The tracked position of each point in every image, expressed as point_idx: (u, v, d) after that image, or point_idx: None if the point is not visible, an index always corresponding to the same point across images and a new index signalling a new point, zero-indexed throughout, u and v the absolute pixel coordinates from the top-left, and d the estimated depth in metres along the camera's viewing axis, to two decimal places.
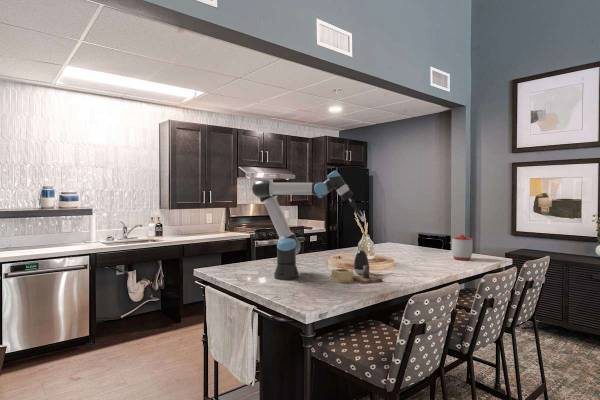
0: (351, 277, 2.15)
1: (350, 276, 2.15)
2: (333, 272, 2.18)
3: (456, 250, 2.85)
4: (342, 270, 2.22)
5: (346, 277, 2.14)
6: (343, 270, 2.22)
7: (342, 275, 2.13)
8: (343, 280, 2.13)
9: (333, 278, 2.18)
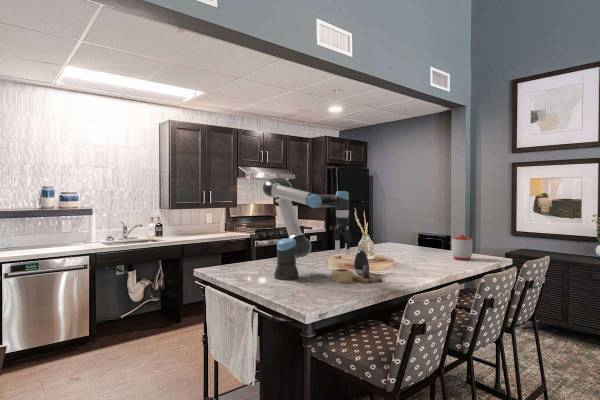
0: (351, 277, 2.15)
1: (350, 276, 2.15)
2: (333, 272, 2.18)
3: (456, 250, 2.85)
4: (342, 270, 2.22)
5: (346, 277, 2.14)
6: (343, 270, 2.22)
7: (342, 275, 2.13)
8: (343, 280, 2.13)
9: (333, 278, 2.18)
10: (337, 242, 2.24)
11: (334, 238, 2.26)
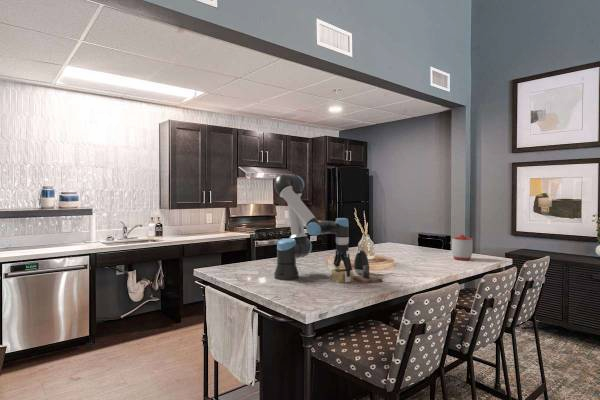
0: (351, 277, 2.15)
1: (350, 276, 2.15)
2: (333, 272, 2.18)
3: (456, 250, 2.85)
4: (342, 270, 2.22)
5: None
6: (343, 270, 2.22)
7: (342, 275, 2.13)
8: (343, 280, 2.13)
9: (333, 278, 2.18)
10: (337, 268, 2.24)
11: (334, 264, 2.26)
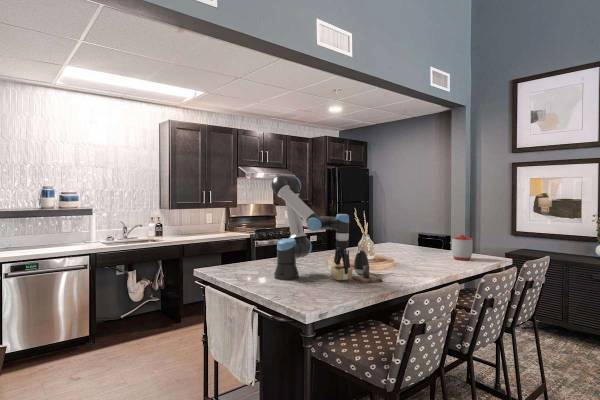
0: (350, 274, 2.15)
1: (349, 273, 2.15)
2: (332, 269, 2.19)
3: (456, 250, 2.85)
4: (341, 267, 2.22)
5: None
6: (342, 267, 2.22)
7: (341, 272, 2.13)
8: (342, 277, 2.13)
9: (332, 275, 2.19)
10: None
11: (335, 262, 2.25)
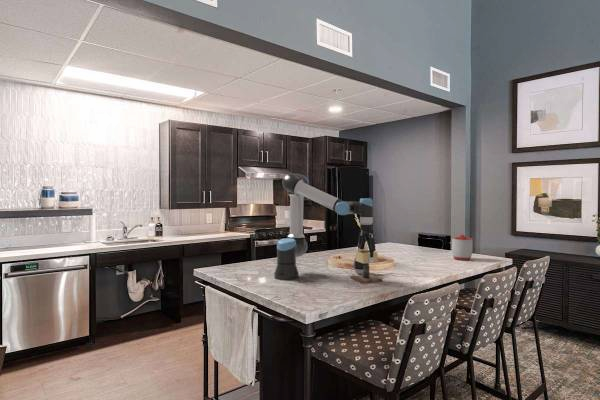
0: (375, 258, 2.15)
1: (375, 257, 2.15)
2: (357, 253, 2.19)
3: (456, 250, 2.85)
4: (365, 251, 2.22)
5: None
6: (367, 252, 2.23)
7: (367, 256, 2.13)
8: (368, 261, 2.14)
9: (357, 259, 2.19)
10: None
11: (359, 247, 2.25)
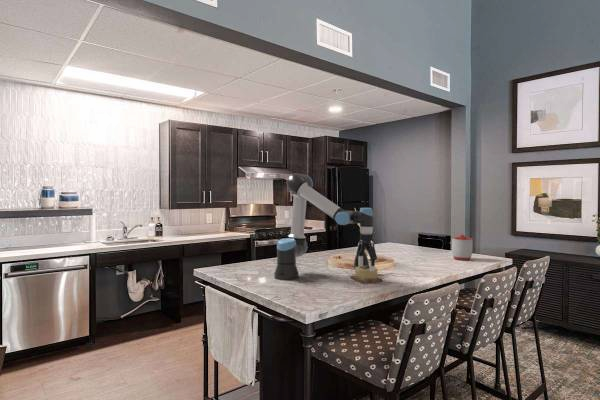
0: (375, 274, 2.16)
1: (374, 273, 2.15)
2: (357, 269, 2.19)
3: (456, 250, 2.85)
4: None
5: (370, 274, 2.15)
6: None
7: (367, 272, 2.14)
8: (368, 277, 2.14)
9: (357, 275, 2.19)
10: (360, 258, 2.25)
11: None
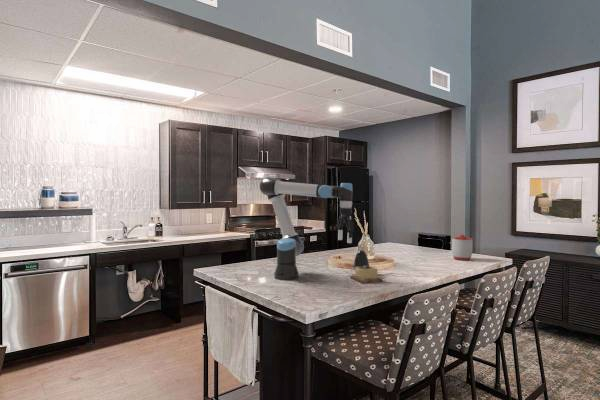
0: (375, 274, 2.16)
1: (374, 273, 2.15)
2: (357, 269, 2.19)
3: (456, 250, 2.85)
4: None
5: (370, 274, 2.15)
6: None
7: (367, 272, 2.14)
8: (368, 277, 2.14)
9: (357, 275, 2.19)
10: (340, 231, 2.35)
11: None
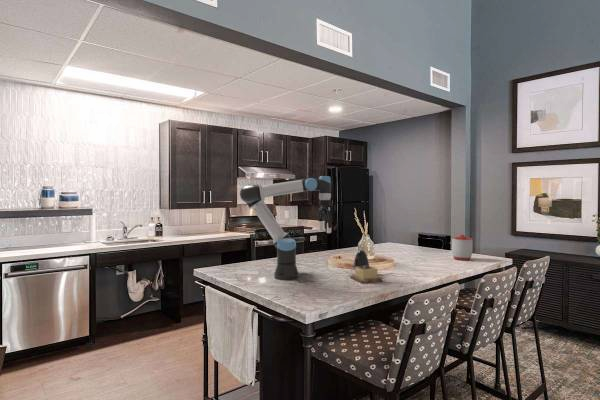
0: (375, 274, 2.16)
1: (374, 273, 2.15)
2: (357, 269, 2.19)
3: (456, 250, 2.85)
4: None
5: (370, 274, 2.15)
6: None
7: (367, 272, 2.14)
8: (368, 277, 2.14)
9: (357, 275, 2.19)
10: (320, 223, 2.46)
11: (318, 219, 2.48)
